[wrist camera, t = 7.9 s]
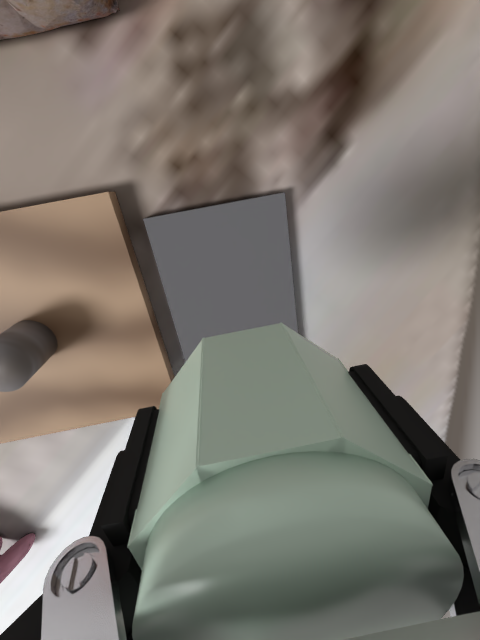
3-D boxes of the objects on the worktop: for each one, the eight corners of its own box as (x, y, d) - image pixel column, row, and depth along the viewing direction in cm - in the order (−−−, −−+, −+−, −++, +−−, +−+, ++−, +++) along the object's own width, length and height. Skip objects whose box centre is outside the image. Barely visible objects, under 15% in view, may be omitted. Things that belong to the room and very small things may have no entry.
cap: (337, 311, 10) (505, 473, 4) (341, 447, 13) (444, 653, 7) (146, 348, 10) (59, 565, 4) (192, 477, 13) (178, 710, 7)
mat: (298, 355, 27) (300, 360, 26) (191, 376, 27) (191, 382, 26) (282, 192, 21) (284, 192, 20) (145, 218, 21) (143, 219, 20)
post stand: (181, 397, 27) (174, 443, 22) (-9, 434, 27) (-59, 490, 22) (115, 191, 20) (83, 192, 15) (-149, 240, 20) (-272, 257, 15)
